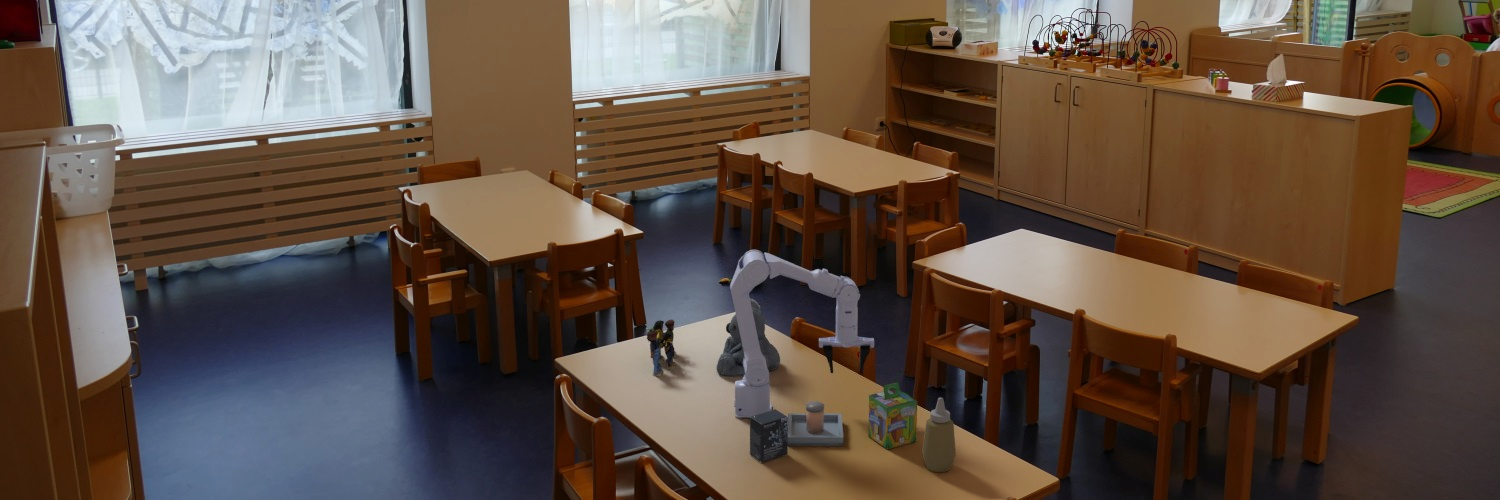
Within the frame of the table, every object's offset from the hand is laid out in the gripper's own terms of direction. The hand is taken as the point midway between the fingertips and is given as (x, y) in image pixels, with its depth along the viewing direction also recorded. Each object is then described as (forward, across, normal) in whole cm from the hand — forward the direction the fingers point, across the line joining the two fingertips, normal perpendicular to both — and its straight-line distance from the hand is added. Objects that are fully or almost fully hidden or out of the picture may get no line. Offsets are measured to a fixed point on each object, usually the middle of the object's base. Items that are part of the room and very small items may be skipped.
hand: (846, 371), depth 313 cm
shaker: (+10, -8, -16) cm, 20 cm away
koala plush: (+11, -27, +28) cm, 40 cm away
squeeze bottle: (+11, +21, -34) cm, 41 cm away
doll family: (+11, -53, +30) cm, 62 cm away
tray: (+10, -8, -16) cm, 21 cm away
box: (+11, -20, -28) cm, 36 cm away
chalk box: (+11, +11, -19) cm, 24 cm away
